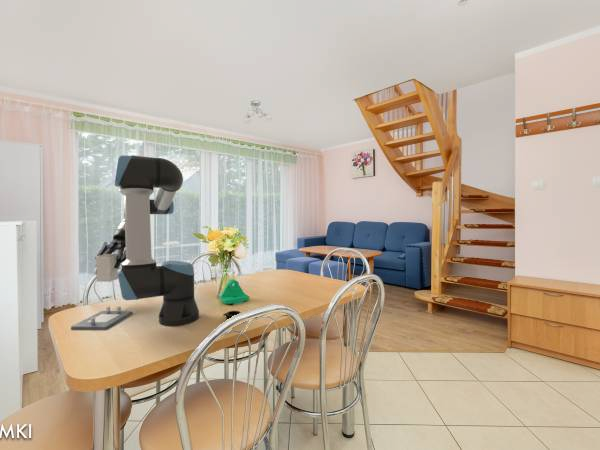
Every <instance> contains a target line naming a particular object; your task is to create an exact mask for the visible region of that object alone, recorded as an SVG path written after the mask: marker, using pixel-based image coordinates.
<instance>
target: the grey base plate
mask: <svg viewBox="0 0 600 450" xmlns="http://www.w3.org/2000/svg"><path fill="white" fill-rule="evenodd" d="M132 314H133V310H122V309H121V306H117V307H116V310H111V306H107V307H105V310H101V311H99V312H98V313H95V314H93V315H92V316H90V317H88V318H84V319H83V320H82V321H80V322H77V323H75V324H73V325H71V327H70V329H71V330H100V331H101V330H103V331H104V330H105V331H106V330H108V329H109V328H111V327H112V326H115V325H116V324H117V323H119V322H121V321H123V320H124V319H126V318H127V317H129V316H131V315H132Z"/></svg>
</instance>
